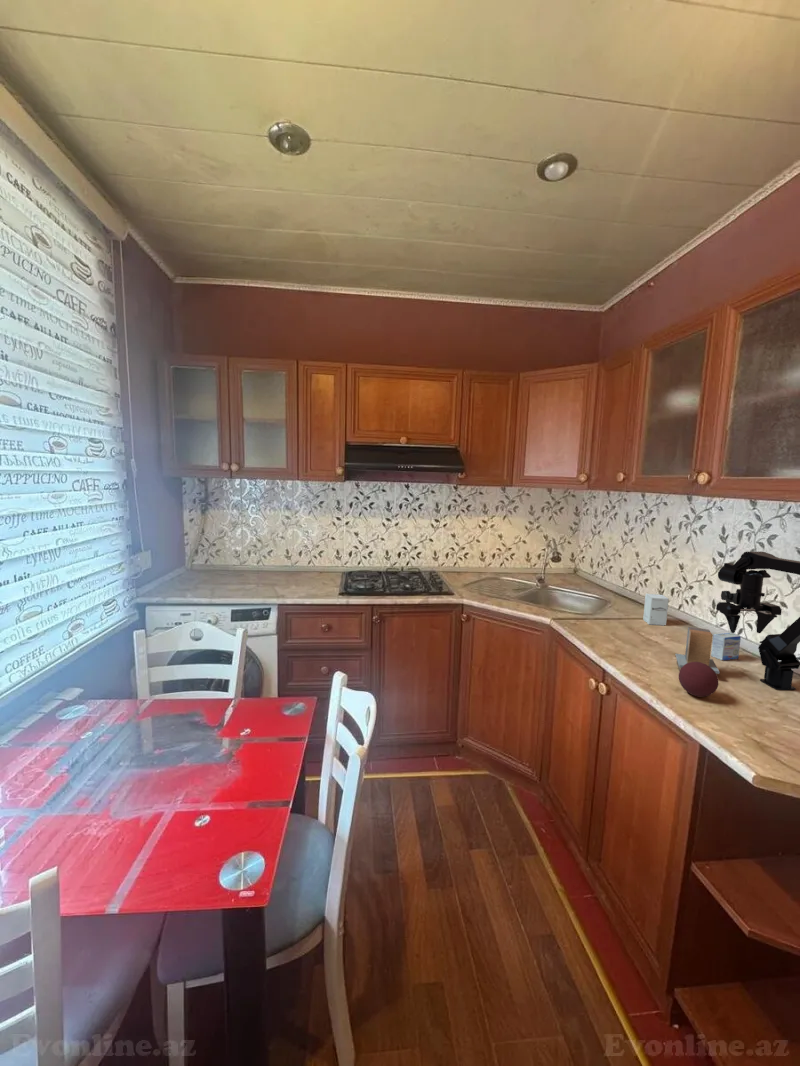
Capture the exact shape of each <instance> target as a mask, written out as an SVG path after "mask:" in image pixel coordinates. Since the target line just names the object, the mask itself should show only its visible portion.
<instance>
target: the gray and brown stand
mask: <svg viewBox="0 0 800 1066" xmlns="http://www.w3.org/2000/svg"><path fill="white" fill-rule="evenodd" d="M675 657H676V658H675V659H676V666H677V669H678V671H680V669H681V668H682V667H683V666H684V665H685V664H687V661H686V659H685V654H681V653H675ZM709 666H710V667H711V668H712V669H713V670H714V671H715V673H716V674H717V675H719V674H720V670H719V668H718V666H717V664H716V663H715V661H714V659H713V658H710V661H709Z"/></svg>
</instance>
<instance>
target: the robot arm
mask: <svg viewBox="0 0 800 1066" xmlns="http://www.w3.org/2000/svg"><path fill="white" fill-rule="evenodd" d="M767 570H774V571H778V572H784V573H790V574H794V575H800V560H795V559H794V560H793V559H789V558H788V559H787V558H782V557H779V556H778V557H777V556H775V555H774V554H771V553H768V552H765V551H744V552H743V553H742V554H741V555H740V558H738V560H737V561H736V562H734V563H732V562H724V563H723V566H721V567H720V569H719V570H718V572H717V577H718V579H719V580H720V581H722V582H725V583H729V584H733V585H737V586H740V587H739V588H737V589H736V591H735V593H734V592H733V593H732V592H731V591H730V590H722V591H721V593H720V599H721V600H722V601H719V602H717V604H716V605H715V606H716V608H715V610H716V611H719V613H721V614H723V615H724V616H725V618H726V621H727V623H728V627H729V631H730V633H732V634H735V633H736V630H737V628H738V625H739V622H740V618H741V615H739V614H740V613H741V612H755V614H756V616H757V620H756V621H757V622H756V633H757V634H762V632H763V631H764V629H766V627H767V626H768V625H769V624H770V623H771V622H772V621H773V620H774V619H775V618H778V616H782V608H781V606H780V605H777V604H774V603H771V602H761V599H762V597H765V595H766V594H765V593H764V592H762V591H763V585H764V579H767V578H772V577H771V575H770V573H768V572H767ZM759 643H760V644H759V645H758V648H757V649H758V653H759V657H760V661H761V665H762V666H764V667H765V668H764V675H763V676H764V677H763V678H760V679H759V681H760V682H761V683H764V684H766V685H767V686H769V687H771V688H772V689H775V690H779V691H781V690H782V691H785V690H787V691H789V690H796V691H797V687H795V686H794V685H792V684H793V676H794V670H798V669H799V668H800V660H799V659H798V657H797V656H796V655H795V654H796V652H797V648H798V644H799V643H800V616H799V617H798V618H797V619H796V620H794V621H793V622H792V623H791V624H790V625H789V626H788V627H787V628H786V629H784V631H782V632H781V633H777V634H775V633H774V634H767V635H766V636H765V638H764V639H763V640H762V641H761V640H760V641H759Z"/></svg>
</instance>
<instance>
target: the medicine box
mask: <svg viewBox="0 0 800 1066" xmlns="http://www.w3.org/2000/svg"><path fill="white" fill-rule="evenodd" d="M740 645H741V636H740V635H738V634H735V633H731V632H724V633H716V634H715V633H714V634H712V644H711V652H710V657H712V658H714V657H715V658H714V659H716V660H717V659H718V660H719V659H720V661H722V660H724V661H729V660H730V659H732V660H738V659H739V655H740V654H739V653H740Z"/></svg>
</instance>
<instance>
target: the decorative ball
mask: <svg viewBox="0 0 800 1066" xmlns="http://www.w3.org/2000/svg"><path fill="white" fill-rule="evenodd" d="M678 671H679V670H678ZM678 681H679V684H680V686H681V687H682V688H683V689H684V690H685V691H686V692H687V693H688V694H691V695H692V696H695V697H698V698H699V697H701V698H703V697H704V698H705V697H709V696H711V695H712V694H714V693H715V692H716V691H717V689H718V688H719V676H718V674H716V673H715V671H714V670H713V669H712V668H711V667H710V666H708V665H706V664H704V663H701V662H690V663H687V664H685V665H684V666H683V667H682V668H681V669H680V671H679V672H678Z"/></svg>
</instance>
